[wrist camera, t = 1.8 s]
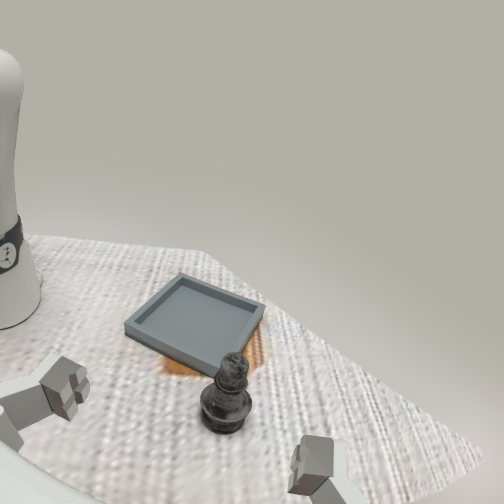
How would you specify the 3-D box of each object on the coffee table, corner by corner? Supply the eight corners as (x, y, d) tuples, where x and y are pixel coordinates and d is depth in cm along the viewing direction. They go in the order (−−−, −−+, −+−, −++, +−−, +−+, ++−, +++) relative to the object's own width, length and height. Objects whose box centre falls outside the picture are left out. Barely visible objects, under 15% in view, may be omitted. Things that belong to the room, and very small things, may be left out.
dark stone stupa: (241, 396, 38) (261, 330, 33) (251, 434, 34) (275, 374, 28) (196, 397, 37) (204, 330, 31) (201, 437, 32) (210, 376, 26)
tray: (125, 334, 43) (124, 322, 42) (179, 283, 57) (180, 272, 56) (223, 382, 40) (226, 371, 39) (262, 316, 54) (265, 305, 52)
